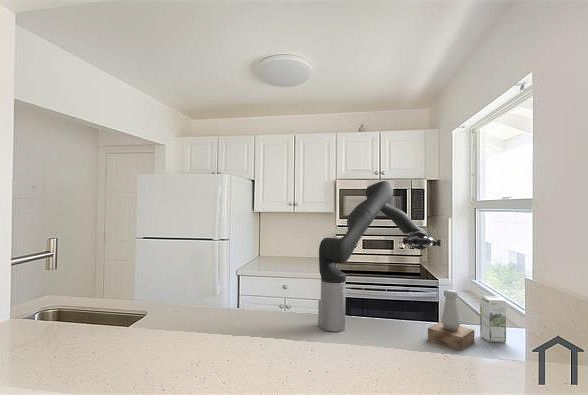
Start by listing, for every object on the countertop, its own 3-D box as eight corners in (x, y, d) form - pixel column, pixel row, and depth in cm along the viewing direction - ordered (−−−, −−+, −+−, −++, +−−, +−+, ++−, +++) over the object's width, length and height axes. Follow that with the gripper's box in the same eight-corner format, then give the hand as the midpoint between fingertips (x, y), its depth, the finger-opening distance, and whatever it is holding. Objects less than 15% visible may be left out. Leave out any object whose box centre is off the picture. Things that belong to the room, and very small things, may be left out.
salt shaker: (462, 332, 105) (462, 292, 106) (444, 330, 107) (443, 291, 107) (457, 326, 111) (456, 288, 112) (439, 325, 112) (439, 287, 113)
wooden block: (427, 340, 109) (427, 328, 109) (441, 332, 116) (441, 321, 117) (462, 350, 101) (461, 337, 101) (474, 341, 108) (474, 329, 108)
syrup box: (496, 336, 114) (495, 295, 114) (506, 343, 108) (506, 299, 108) (480, 336, 114) (479, 294, 115) (489, 342, 108) (489, 299, 109)
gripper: (402, 231, 142) (403, 232, 127) (437, 232, 138) (442, 233, 122) (402, 248, 142) (403, 251, 126) (437, 249, 137) (442, 253, 122)
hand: (422, 242), depth 124 cm, fingers open, 8 cm apart
